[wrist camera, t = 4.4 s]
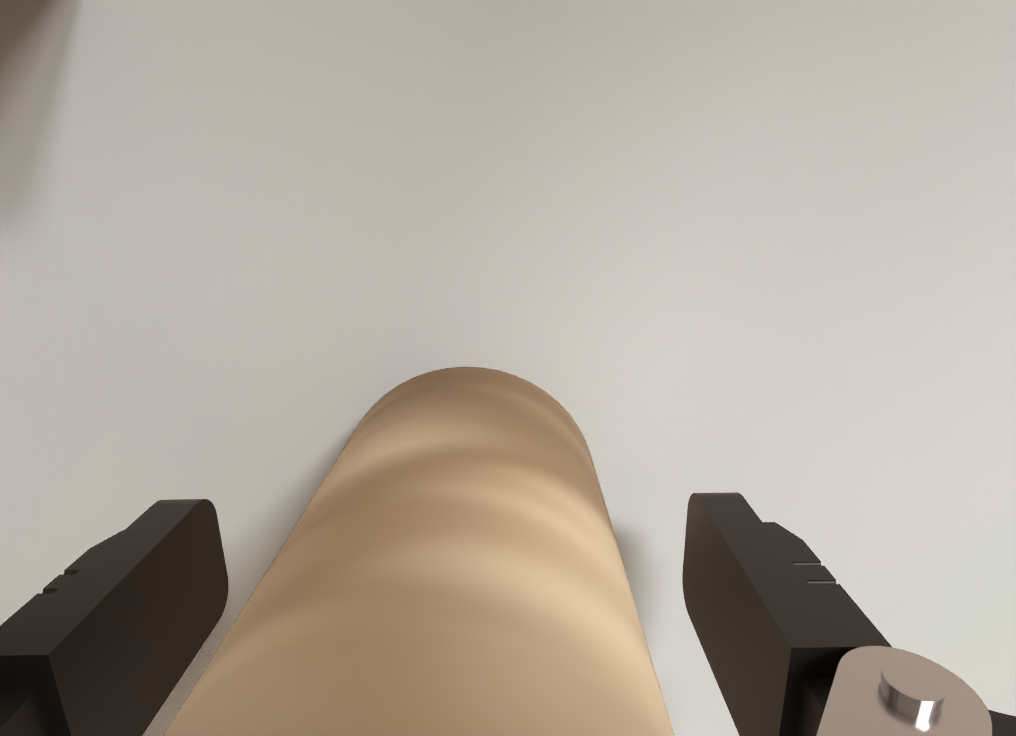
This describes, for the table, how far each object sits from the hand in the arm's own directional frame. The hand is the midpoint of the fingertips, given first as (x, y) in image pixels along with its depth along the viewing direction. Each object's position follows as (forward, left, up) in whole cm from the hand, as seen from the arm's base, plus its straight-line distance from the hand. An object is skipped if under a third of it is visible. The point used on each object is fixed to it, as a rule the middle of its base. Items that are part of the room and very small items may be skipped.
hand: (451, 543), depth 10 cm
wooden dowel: (0, 0, -2) cm, 2 cm away
